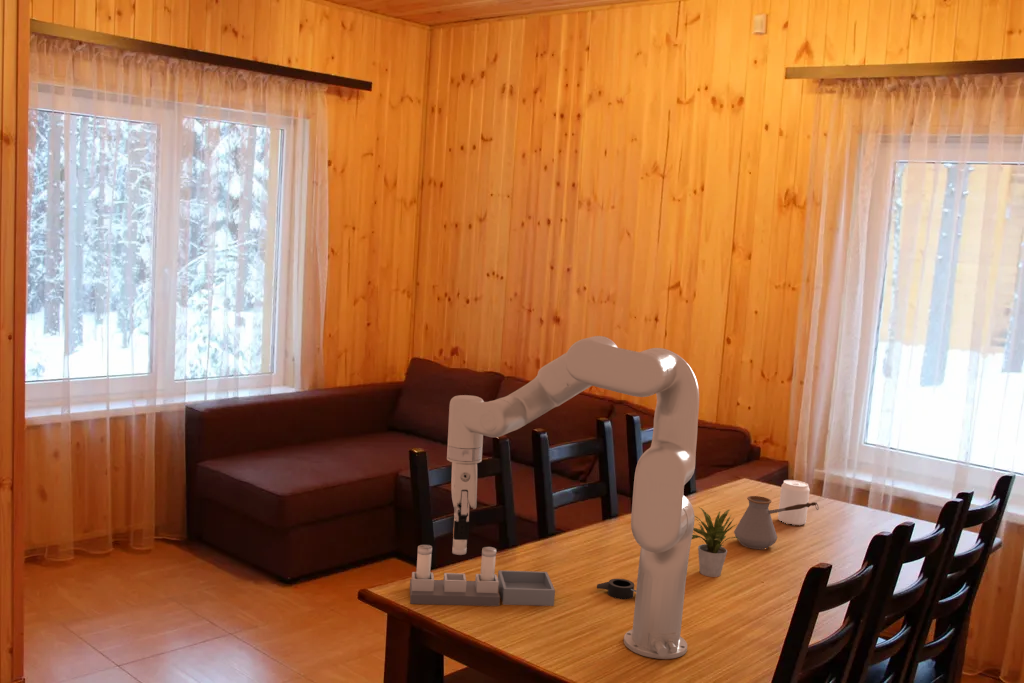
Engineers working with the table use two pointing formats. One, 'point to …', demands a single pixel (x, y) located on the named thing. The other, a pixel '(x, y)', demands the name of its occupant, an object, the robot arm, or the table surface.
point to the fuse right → (488, 564)
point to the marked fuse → (459, 543)
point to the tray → (525, 588)
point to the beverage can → (793, 502)
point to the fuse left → (423, 562)
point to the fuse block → (454, 590)
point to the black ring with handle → (618, 588)
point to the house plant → (712, 544)
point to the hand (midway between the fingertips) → (460, 535)
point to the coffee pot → (760, 523)
